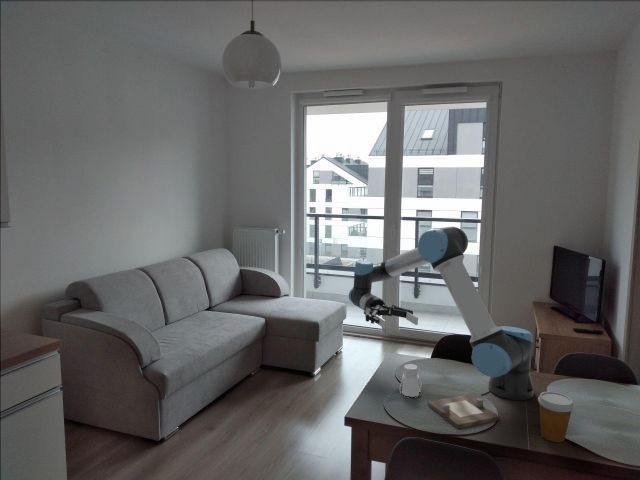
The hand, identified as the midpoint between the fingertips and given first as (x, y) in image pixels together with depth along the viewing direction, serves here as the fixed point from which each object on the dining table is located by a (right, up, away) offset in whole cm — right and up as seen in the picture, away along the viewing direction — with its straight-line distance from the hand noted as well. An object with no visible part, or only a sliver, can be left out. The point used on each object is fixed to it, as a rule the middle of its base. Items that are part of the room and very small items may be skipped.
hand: (401, 322), depth 173 cm
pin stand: (+17, -26, -18) cm, 36 cm away
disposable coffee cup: (+39, -28, -31) cm, 58 cm away
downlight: (+2, -24, -5) cm, 25 cm away
